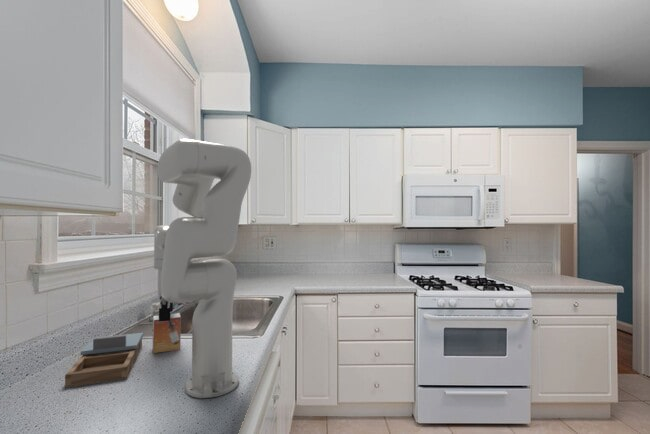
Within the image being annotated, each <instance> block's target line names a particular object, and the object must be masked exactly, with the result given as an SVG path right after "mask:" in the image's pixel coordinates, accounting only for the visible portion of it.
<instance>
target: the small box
mask: <svg viewBox="0 0 650 434" xmlns="http://www.w3.org/2000/svg"><path fill="white" fill-rule="evenodd" d="M181 324H182V318H181V313H180V312H175V313H170V320H169V321H159V315H153V319H152V354H157V353H163V352H164V353H165V352H171V351H172V352H173V351H179V350H181V342H182V341H181V334H182V333H181V332H182V331H181V330H182V329H181V328H182V326H181Z"/></svg>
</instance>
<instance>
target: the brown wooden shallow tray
mask: <svg viewBox="0 0 650 434" xmlns="http://www.w3.org/2000/svg"><path fill="white" fill-rule="evenodd" d="M142 348H143V338H142V339H141V341H140V343H139V345H138V347H137V349H128V350H120V351H111V352H103V353H94V354H85V355H80V358H79V359H77V361H76V362H75V363H74V364H73V365H72V366H71V368H70V369H68V371H67V372H66V373H65V374H64V380H65V381H64V388H72V387H78V386H85V385H92V384H93V385H94V384H99V383H107V382H116V381H121V380H127V379H128V378H129V375H130V374H131V371H132V369H133V367H134V365H135V362H136V360H137V358H138V356H139V354H140V352H141V349H142Z"/></svg>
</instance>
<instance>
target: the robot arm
mask: <svg viewBox="0 0 650 434" xmlns="http://www.w3.org/2000/svg"><path fill="white" fill-rule="evenodd" d="M156 170H157V171H156V172H157V176H158V178H159V180H160V181H161V182H163V183H165V184H175V185H176V187H175V190H174V194H172V195H173V196H172V204H173V205H174V207H175V208H176V209H178V211H181V212H182V213H184V214H186V215H188V216H187V217H186V216H182V217H178V218H175V219H174V220H172V222H170V224H169V225H167V224H166V225H165V224H164V225H163V224H162V225H158V226H157V225H156V227H155V228H154V235H153V236H154V243H153V245H154V246H153V270H157V300H158V301H159V308H158V316H159V321H169V320H170V314H171V313H172V312H173V310H174V308H173V307H174V304H179V303H180V304H182V303H186V302H191V301H198V300H199V302H198V303H197V305H196V307H195V309H194V310H193V315H192V321H191V322H192V323H191V324H192V327H191V329H192V331H191V332H192V335H191V343H192V345H191V353H192V354H191V368H192V369H191V378H189V379H188V380H187V381H186V383H185V386H184V387H185V389H184V390H185V392H186V394H187V395H189V396H191V397H193V398H198V399H211V398H215V397H220V396H224V395H226V394H228V393H230V392H232V391H233V390H235V388H236V387H238V385H239V376H238V374H237V373H235V372H234V371H233V319H234V318H233V314H234V313H233V308H234V296H235V291H236V286H237V277H238V273H237V269H236V267H235V265H234V264H233V262H231V261H230V260H228V259H225V258H215V257H222V256H226V255H229V254H230V253H232V252H233V251H234V249H235V246H236V244H237V243H236V242H237V236H238V231H239V223H240V217H241V212H242V211H241V210H242V205H243V201H244V199H245V195H246V192H247V190H248V187H249V185H250V182H251V178H252V163H251V159H250V157H249V155H248V154H247V152H246V151H244V150H242V149H241V148H238V147H236V146H233V145H228V144H223V143H215V142H209V141H203V140H197V139H189V138H182V139H181V138H180V139H178V140H176V141H175V142H173V143H172V144H171V145H170V146H168V147H167V148H165V150H163V152H162V153H161V155H160V157H159V159H158V161H157V166H156ZM215 179H217V180H219V181H218V182H216V184H215V185H213V183H214V181H215ZM213 257H214V258H213ZM199 258H202V259H199ZM203 258H205V259H203ZM192 259H194V260H192ZM195 259H196V260H195Z"/></svg>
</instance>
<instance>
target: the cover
mask: <svg viewBox="0 0 650 434" xmlns="http://www.w3.org/2000/svg"><path fill="white" fill-rule="evenodd" d="M143 337H144V332H137V333H135V332H134V333H127V334H125V333H124V334H116V335H108V336H107V335H105V336H97V337H92V338H91V339H90V340H89V342H88V343H87V344H86V345H85V346H84V347H83V348H82V350H81V351H80V356H82V355H85V354H94V353H103V352H111V351H120V350H128V349H137V347H138V345H139V343H140V341H141V339H142V340H143Z"/></svg>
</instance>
